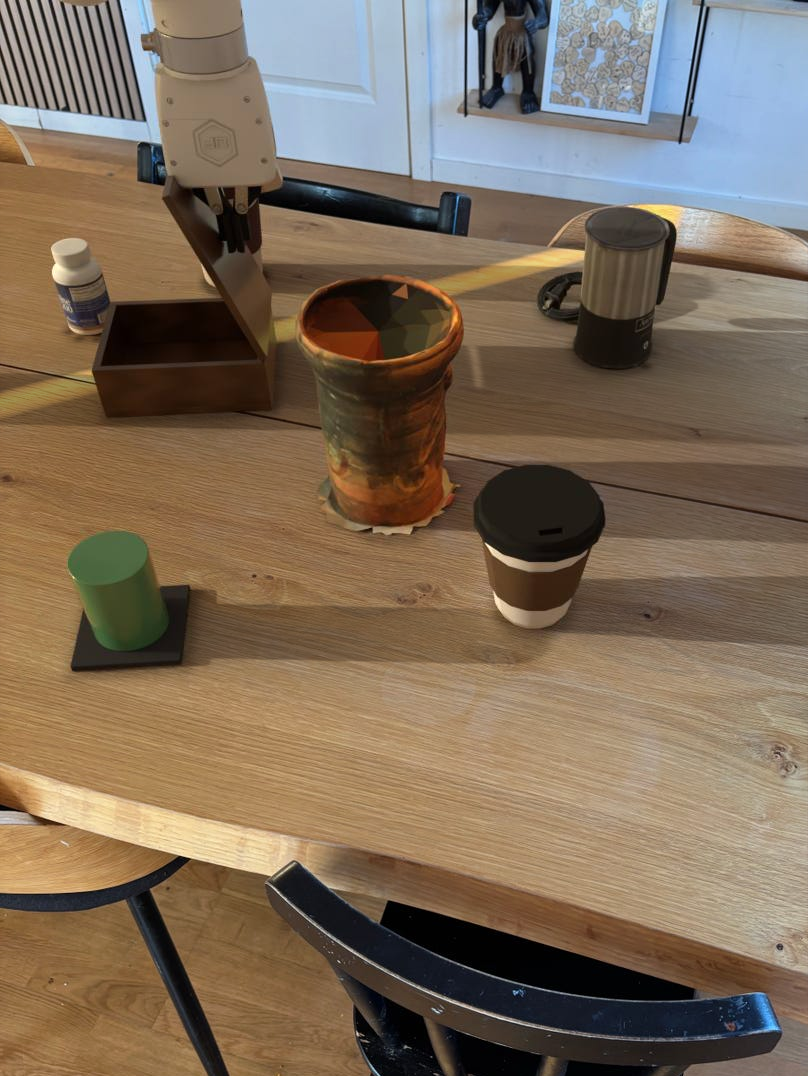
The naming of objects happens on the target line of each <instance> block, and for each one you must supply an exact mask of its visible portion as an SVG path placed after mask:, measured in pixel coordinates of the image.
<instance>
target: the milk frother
mask: <svg viewBox="0 0 808 1076" xmlns="http://www.w3.org/2000/svg"><path fill="white" fill-rule="evenodd" d="M583 226H584V227H583V228H584V231H585V233H586V235H585V245H584V253H583V256H584V258H583V265H582V267H583V268H582V271H571V272H567V273H564V274H560V275H557V276H555V277H553V278H551V279H549V280H548V281H546V282H545V284H543V286H542V287H541V288H540V289H539V291H538V293H537V298H536V305H537V308H538V310H539V312H541V314H542V315H544V316H545V317H547V318H548V319H551V320H554V321H557V322H561V323H569V322H577V325H576V334H575V335H574V338H573V341H572V343H573V344H572V345H573V346H572V347H573V350H574V352H575V354H577V356H578V357H579V358H581V359H582V360H584V361H585V362H586V363H588V364H591V365H594V366H596V367H600V368H603V369H604V368H606V369H619V370H620V369H628V368H633V367H636V366H638V365H640V364H642V363H643V362H645V361H647V359H648V358H649V357H650V356H651V354H652V350H653V345H652V335H653V328H654V317H655V311H656V306H660V305H662V303H663V301H664V298H665V296H666V291H667V287H668V283H669V282H668V281H669V277H670V272H671V269H672V263H673V258H674V253H675V248H676V244H677V237H678V232H677V228H676V225H675V224H674V222H672V221H671V220H670V219H667V218H665V217H663V216H661V215H660V214H656V213H655V212H652V211H650V210H648V209H647V210H646V209H643V208H637V207H634V206H632V207H630V206H617V207H616V206H615V207H607V208H603V209H600V210H597V211H595V212H593V213H592V214H590V215H588V217H587V218H586V220H584V225H583ZM575 285H578V286H580V285H581V286H580V287H581V289H580V299H579V308H575V309H573V310H560V309H561V305H562V303H563V301H564V300H565V298H566V297H567V296H568V291H569V290H570V289H571V288H572V286H575Z"/></svg>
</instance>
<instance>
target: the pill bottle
mask: <svg viewBox="0 0 808 1076" xmlns="http://www.w3.org/2000/svg"><path fill="white" fill-rule="evenodd" d="M50 249H51V250H50V251H51V254H52V257H53V260H54V263H55V264H53V267H52V268H51V269H52V270H51V274H52V279H53V282H54V284H55V288H56V291H57V294H58V297H59V300H60V303H61V307H62V310H63V312H64V315H65V318H66V322H67V323H68V327H69V329H70V330H71V331H72V332H74V333H75V334H77V335H81V336H93V335H94V336H95V335H99V334H102V330H103V327H104V323H105V319H106V316H107V312H108V308H109V305H110V302H112V301H111V298H110V294H109V291H108V288H107V284H106V280H105V277H104V274H103V270H102V266H101V264H100V263H99V261H98V260H97V259H95V258H94V257H92V252H91V249H90V246H89V243H88V242H87V241H86V240H85V239H82V238H79V237H68V238H63V239H61V240H58V241H56V242H55V243H53V244H52V245H51V248H50Z"/></svg>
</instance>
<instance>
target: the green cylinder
mask: <svg viewBox="0 0 808 1076" xmlns="http://www.w3.org/2000/svg"><path fill="white" fill-rule="evenodd" d="M66 567H67V571H68V574H69V576H70V578H71V580H72V583H73V586H74V588H75V591H76V594H77V596H78V599H79V601H80V604H81V606H82V609H83V608H84V611H85V613H86V616H87V618H88V621H89V623H90V626H91V628H92V631H93V633H94V636H95V638H96V640H97V641H98V642H99V643H100V644H101V645H103V646H104V647H106V648H108V649H111V650H115V651H133V650H137V649H141V648H144V647H146V646H148V645H150V644H152V643H153V642H155V641H156V640H158V639H159V638H160V637H161V636H162V635H163V634H164V632H165V631H166V629H167V627H168V624H169V613H168V609H167V606H166V603H165V600H164V596H163V593H162V590H161V587H160V586H161V584H160V581H159V578H158V574H157V572H156V571H157V570H156V568H155V565H154V561H153V558H152V554H151V551H150V549H149V546H148V544H147V542H146V541H145V540H144V538H142V537H141V536H140V535H138V534H136V533H133V532H130V531H127V530H106V531H102V532H98V533H95V534H92V535H90V536H88V537H87V538H84V539H83V540H81V541H80V542H79V543H78V544H77V545H75V546H74V547H73V549H72V550H71V551H70V553H69V554H68V557H67V560H66Z"/></svg>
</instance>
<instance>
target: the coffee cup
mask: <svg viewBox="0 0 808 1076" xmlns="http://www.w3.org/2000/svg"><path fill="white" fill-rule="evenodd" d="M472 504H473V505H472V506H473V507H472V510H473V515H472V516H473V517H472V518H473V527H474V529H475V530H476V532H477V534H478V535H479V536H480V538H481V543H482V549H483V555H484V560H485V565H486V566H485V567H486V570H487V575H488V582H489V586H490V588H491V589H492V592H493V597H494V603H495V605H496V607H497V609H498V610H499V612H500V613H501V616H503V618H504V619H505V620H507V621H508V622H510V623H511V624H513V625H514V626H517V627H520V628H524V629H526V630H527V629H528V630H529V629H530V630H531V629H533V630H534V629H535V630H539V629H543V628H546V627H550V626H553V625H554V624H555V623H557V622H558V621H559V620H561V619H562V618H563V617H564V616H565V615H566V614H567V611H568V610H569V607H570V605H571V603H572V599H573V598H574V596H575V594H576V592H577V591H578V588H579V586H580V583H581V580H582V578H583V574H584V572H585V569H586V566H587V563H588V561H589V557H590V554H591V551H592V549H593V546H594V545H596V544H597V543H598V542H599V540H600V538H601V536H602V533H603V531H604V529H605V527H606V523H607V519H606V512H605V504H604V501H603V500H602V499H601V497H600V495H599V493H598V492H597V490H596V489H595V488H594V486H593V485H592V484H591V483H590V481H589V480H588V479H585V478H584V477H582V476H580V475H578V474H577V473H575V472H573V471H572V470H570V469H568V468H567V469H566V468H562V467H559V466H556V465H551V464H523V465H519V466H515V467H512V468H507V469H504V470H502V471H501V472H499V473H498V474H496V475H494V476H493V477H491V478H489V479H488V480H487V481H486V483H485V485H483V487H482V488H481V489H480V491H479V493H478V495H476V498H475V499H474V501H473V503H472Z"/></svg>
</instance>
